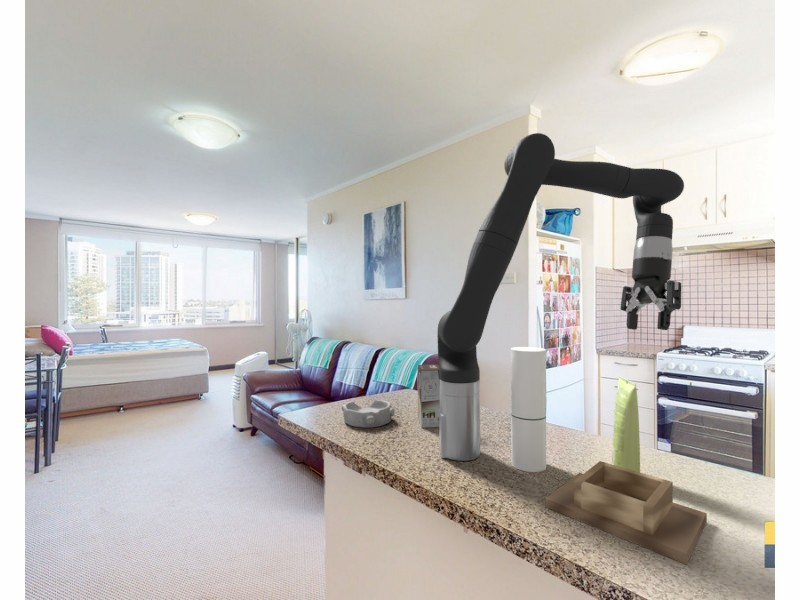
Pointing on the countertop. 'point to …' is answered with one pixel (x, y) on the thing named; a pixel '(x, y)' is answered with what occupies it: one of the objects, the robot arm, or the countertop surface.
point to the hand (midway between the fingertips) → (646, 329)
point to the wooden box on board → (631, 509)
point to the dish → (368, 414)
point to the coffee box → (428, 395)
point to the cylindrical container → (528, 408)
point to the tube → (626, 427)
